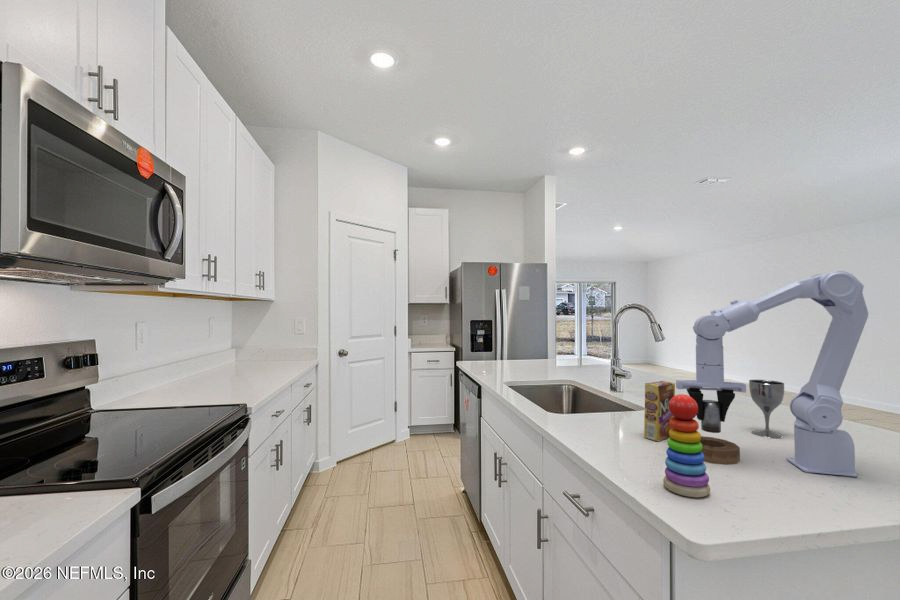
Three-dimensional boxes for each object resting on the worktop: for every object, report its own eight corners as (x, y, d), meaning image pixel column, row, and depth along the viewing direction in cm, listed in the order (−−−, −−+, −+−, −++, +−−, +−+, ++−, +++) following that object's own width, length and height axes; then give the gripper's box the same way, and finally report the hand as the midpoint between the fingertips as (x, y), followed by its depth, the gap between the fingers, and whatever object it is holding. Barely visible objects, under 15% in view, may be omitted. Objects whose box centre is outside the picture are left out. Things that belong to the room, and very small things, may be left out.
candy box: (659, 442, 108) (658, 385, 108) (643, 438, 111) (643, 383, 112) (676, 436, 113) (675, 382, 113) (661, 432, 116) (660, 380, 117)
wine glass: (743, 431, 117) (742, 380, 118) (762, 429, 120) (761, 378, 120) (772, 440, 110) (771, 385, 110) (792, 437, 112) (791, 383, 112)
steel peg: (718, 428, 99) (718, 400, 99) (722, 433, 95) (722, 404, 95) (699, 427, 100) (699, 399, 101) (703, 431, 97) (702, 402, 97)
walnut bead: (728, 450, 101) (728, 438, 102) (747, 466, 91) (746, 453, 91) (680, 446, 105) (680, 434, 105) (692, 461, 94) (692, 448, 94)
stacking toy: (667, 478, 85) (666, 389, 85) (712, 488, 80) (711, 393, 80) (659, 491, 78) (657, 395, 79) (707, 503, 73) (705, 400, 74)
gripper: (737, 363, 100) (738, 418, 100) (672, 361, 104) (673, 413, 104) (749, 367, 93) (750, 425, 93) (679, 364, 98) (680, 420, 97)
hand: (710, 420), depth 98 cm, fingers closed on steel peg, 4 cm apart
